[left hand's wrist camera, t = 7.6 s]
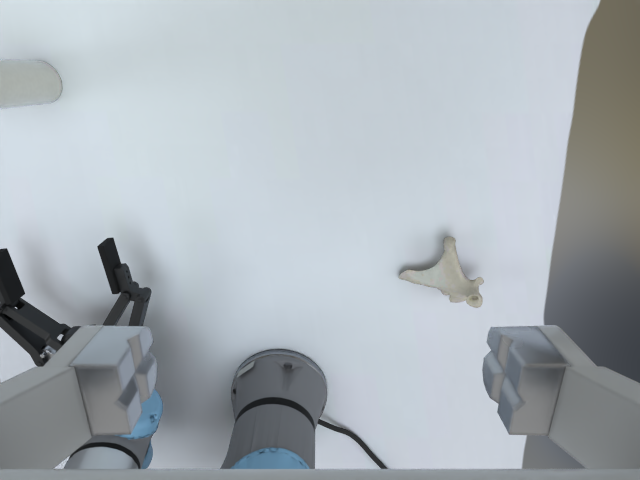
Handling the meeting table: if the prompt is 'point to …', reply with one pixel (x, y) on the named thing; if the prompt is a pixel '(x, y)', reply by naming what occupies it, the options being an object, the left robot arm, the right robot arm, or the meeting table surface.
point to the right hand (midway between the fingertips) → (50, 247)
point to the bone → (448, 277)
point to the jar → (27, 83)
